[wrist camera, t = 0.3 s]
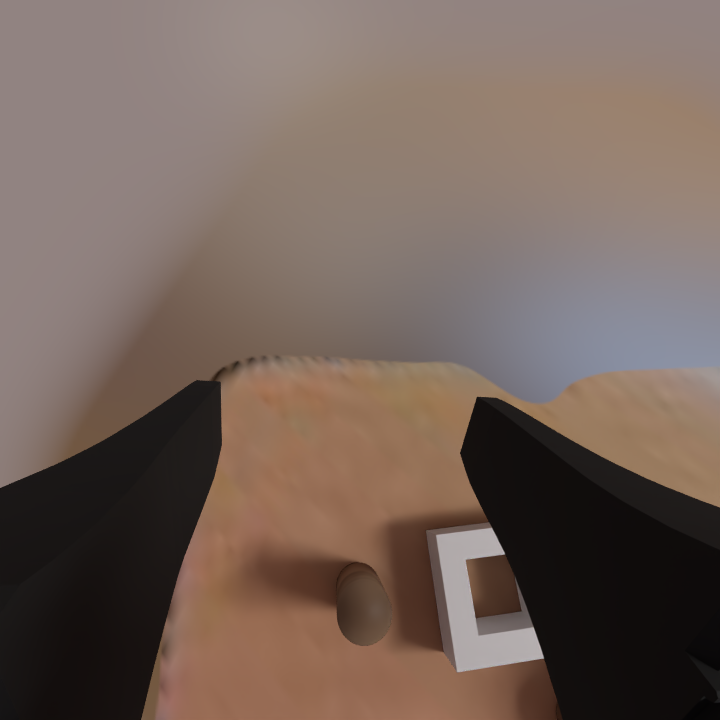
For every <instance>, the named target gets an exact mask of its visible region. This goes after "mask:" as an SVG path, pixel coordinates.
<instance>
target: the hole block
mask: <svg viewBox="0 0 720 720" xmlns="http://www.w3.org/2000/svg"><path fill="white" fill-rule="evenodd" d="M426 535H427V542H428V549H429V556H430V563H431V569H432V576H433V583H434V590H435V597H436V603H437V610H438V617H439V624H440V631H441V637H442V644H443V651H444V653H445V655H446V656H447V658H448V659H449V661H450V662H451V664H452V665H453V667H454V668H455V670H456V671H457V672H463V671H469V670H475V669H481V668H488V667H494V666H500V665H506V664H512V663H519V662H525V661H531V660H537V659H543V658H544V657H543V654H542V650H541V647H540V644H539V642H538V639H537V636H536V633H535V630H534V627H533V624H532V622H531V619H530V616H529V613H528V610H527V607H526V605H525V602H524V599H523V597H522V594H521V591H520V589H519V586H518V584H517V581H516V578H515V581H516V586H517V591H518V596H519V600H520V605H521V610H522V611H521V612H514V613H507V614H500V615H494V616H487V617H480V618H475V612H474V607H473V601H472V595H471V589H470V583H469V578H468V572H467V566H466V560H467V559H474V558H481V557H489V556H496V555H504V554H505V553H504V551H503V549H502V547H501V545H500V543H499V541H498V539H497V537H496V535H495V533H494V531H493V529H492V527H491V525H490V523H489V522H488V523H480V524H472V525H464V526H456V527H448V528H440V529H432V530H426Z"/></svg>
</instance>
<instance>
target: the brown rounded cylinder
mask: <svg viewBox="0 0 720 720" xmlns="http://www.w3.org/2000/svg"><path fill="white" fill-rule="evenodd" d="M336 595H337V621H338V625H339V628H340V630H341V632H342V633H343V635H344V636H345V637H346V638H347V639H348V640H349V641H350V642H352V643H354V644H356V645H360V646H368V645H372V644H375V643H376V642H378V641H379V640H381V639H382V638H383V637H384V636H385V634H386V633H387V631H388V629H389V627H390V624H391V620H392V607H391V603H390V600H389V598H388V596H387V594H386V592H385V590H384V588H383V586H382V584H381V582H380V580H379V578H378V576H377V574H376V572H375V571H374V570H373V569H372V568H371V567H370V566H369V565H367V564H365V563H359V562H358V563H352V564H350V565H348V566H346V567H345V568H344V569H343V570H342V571H341V573H340V575H339V577H338V580H337V585H336Z"/></svg>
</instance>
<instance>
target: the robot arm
mask: <svg viewBox="0 0 720 720" xmlns="http://www.w3.org/2000/svg"><path fill="white" fill-rule="evenodd" d="M221 446H222V431H221V382H217V381H200V380H197V381H194V382H193V383H191V384H190V385H188V386H187V387H185V388H184V389H183V390H181V391H180V392H178V393H177V394H175V395H174V396H173V397H171V398H170V399H168V400H167V401H165V402H164V403H163V404H161V405H160V406H158V407H157V408H155V409H154V410H152V411H151V412H149V413H148V414H146V415H145V416H143V417H142V418H140V419H138V420H137V421H135V422H133V423H132V424H130V425H128V426H127V427H125V428H123V429H122V430H120V431H119V432H117V433H115V434H114V435H112V436H110V437H109V438H107V439H105V440H103V441H102V442H100V443H98V444H96V445H94V446H92V447H90V448H88V449H87V450H84V451H82V452H80V453H78V454H76V455H75V456H72V457H70V458H68V459H66V460H64V461H62V462H60V463H58V464H56V465H54V466H51V467H49V468H47V469H44V470H42V471H39V472H37V473H35V474H32V475H30V476H28V477H25V478H23V479H21V480H18V481H16V482H14V483H11V484H9V485H6V486H4V487H2V488H0V720H141V718H142V713H143V709H144V705H145V701H146V697H147V693H148V689H149V685H150V680H151V676H152V672H153V668H154V664H155V660H156V657H157V653H158V649H159V645H160V641H161V637H162V633H163V629H164V626H165V622H166V618H167V614H168V610H169V607H170V603H171V599H172V596H173V592H174V588H175V585H176V581H177V577H178V574H179V571H180V568H181V565H182V562H183V559H184V556H185V554H186V551H187V548H188V546H189V543H190V540H191V538H192V535H193V533H194V530H195V527H196V525H197V522H198V519H199V517H200V514H201V512H202V509H203V506H204V504H205V501H206V498H207V496H208V493H209V490H210V488H211V485H212V482H213V479H214V476H215V472H216V468H217V464H218V459H219V455H220V451H221ZM460 454H461V457H462V461H463V464H464V467H465V470H466V473H467V476H468V479H469V482H470V484H471V486H472V489H473V491H474V493H475V495H476V497H477V499H478V501H479V503H480V505H481V507H482V509H483V511H484V513H485V515H486V517H487V519H488V521H489V523H490V525H491V527H492V529H493V531H494V533H495V535H496V537H497V539H498V541H499V543H500V545H501V547H502V549H503V551H504V553H505V555H506V557H507V559H508V562H509V564H510V566H511V568H512V571H513V573H514V576H515V578H516V581H517V584H518V586H519V589H520V591H521V594H522V597H523V599H524V602H525V605H526V607H527V610H528V613H529V616H530V619H531V622H532V624H533V627H534V630H535V633H536V636H537V639H538V642H539V644H540V647H541V650H542V654H543V657H544V660H545V663H546V666H547V669H548V673H549V676H550V679H551V682H552V685H553V689H554V692H555V695H556V698H557V702H558V705H559V709H560V712H561V716H562V719H563V720H720V508H719V507H717V506H714V505H711V504H708V503H706V502H703V501H700V500H698V499H695V498H693V497H690V496H688V495H685V494H683V493H680V492H678V491H675V490H673V489H670V488H668V487H665V486H663V485H660V484H658V483H656V482H653V481H651V480H649V479H646V478H644V477H642V476H640V475H638V474H636V473H634V472H632V471H629V470H627V469H625V468H623V467H621V466H619V465H617V464H615V463H613V462H611V461H609V460H607V459H605V458H603V457H601V456H599V455H597V454H595V453H594V452H592V451H590V450H588V449H586V448H584V447H582V446H581V445H579V444H577V443H575V442H574V441H572V440H570V439H568V438H566V437H565V436H563V435H561V434H560V433H558V432H556V431H555V430H553V429H551V428H549V427H548V426H546V425H544V424H543V423H541V422H539V421H538V420H536V419H534V418H533V417H531V416H529V415H528V414H526V413H524V412H523V411H521V410H519V409H517V408H516V407H514V406H512V405H510V404H508V403H506V402H504V401H502V400H500V399H498V398H489V397H477V399H476V402H475V405H474V409H473V412H472V415H471V419H470V422H469V425H468V429H467V432H466V435H465V439H464V442H463V445H462V449H461V452H460Z"/></svg>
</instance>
